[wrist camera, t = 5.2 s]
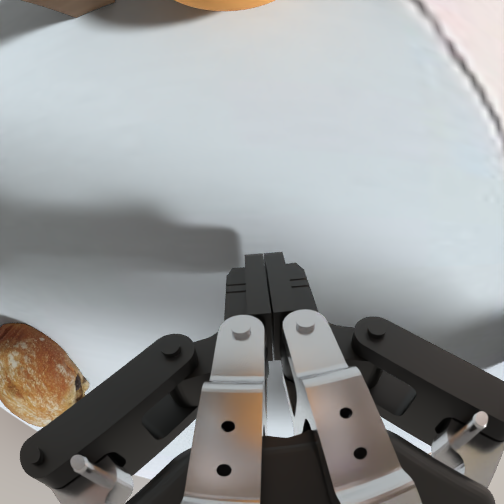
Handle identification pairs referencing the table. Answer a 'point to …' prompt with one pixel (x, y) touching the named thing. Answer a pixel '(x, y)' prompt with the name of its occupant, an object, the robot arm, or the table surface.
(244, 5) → the ball
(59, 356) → the bread roll
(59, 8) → the bridge
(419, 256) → the table surface
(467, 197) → the table surface
